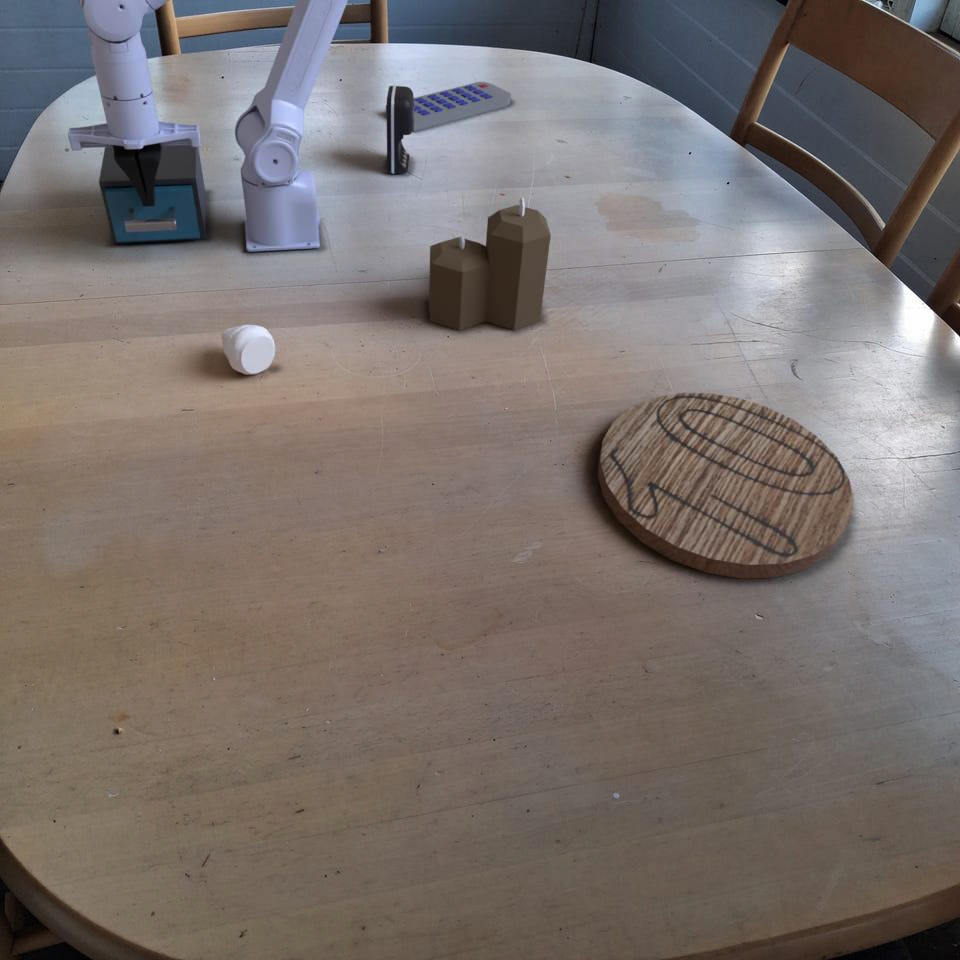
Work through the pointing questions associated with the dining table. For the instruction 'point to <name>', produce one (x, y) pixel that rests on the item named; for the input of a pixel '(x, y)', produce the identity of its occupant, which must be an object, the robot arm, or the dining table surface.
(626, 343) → the dining table surface
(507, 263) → the candle
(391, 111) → the battery charger
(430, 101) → the remote control
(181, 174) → the cabinet
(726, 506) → the trivet
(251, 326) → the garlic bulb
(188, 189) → the drawer
